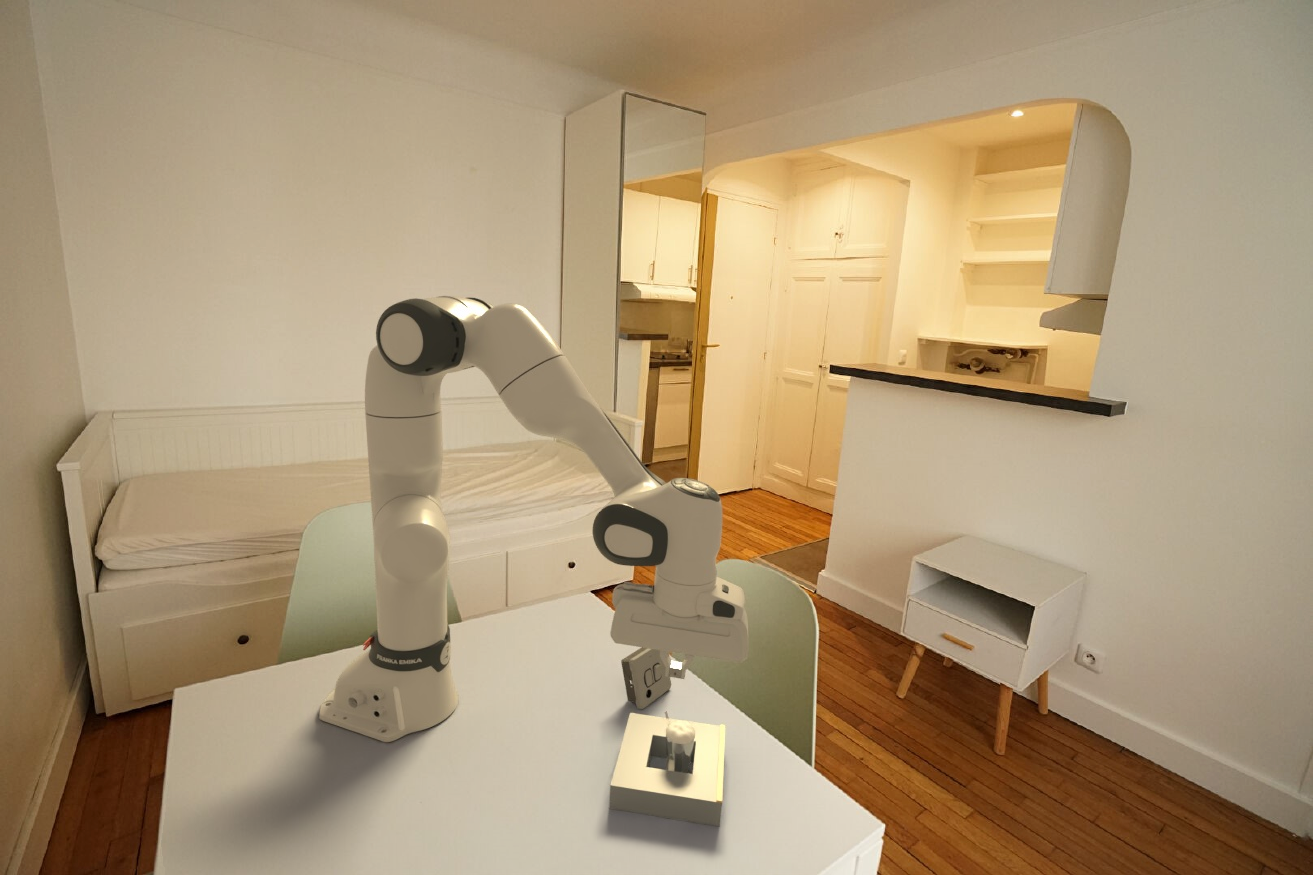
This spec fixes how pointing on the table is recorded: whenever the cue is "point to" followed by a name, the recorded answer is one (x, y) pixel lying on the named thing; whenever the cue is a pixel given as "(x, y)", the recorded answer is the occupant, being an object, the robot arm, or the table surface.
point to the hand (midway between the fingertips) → (675, 675)
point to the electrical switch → (645, 676)
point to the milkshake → (679, 745)
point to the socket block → (669, 773)
